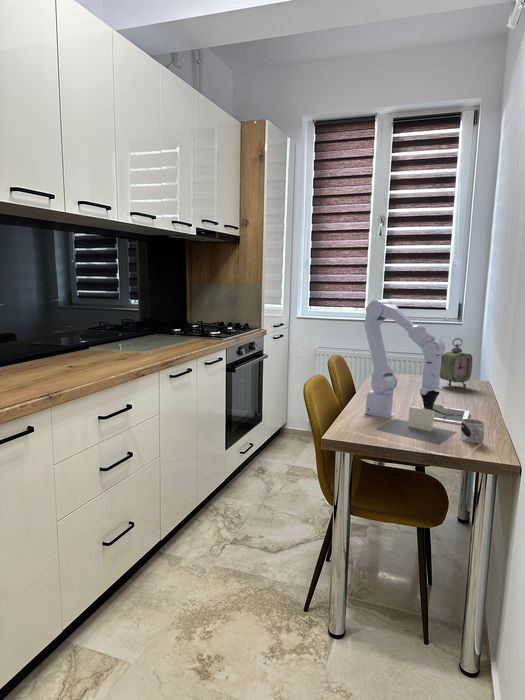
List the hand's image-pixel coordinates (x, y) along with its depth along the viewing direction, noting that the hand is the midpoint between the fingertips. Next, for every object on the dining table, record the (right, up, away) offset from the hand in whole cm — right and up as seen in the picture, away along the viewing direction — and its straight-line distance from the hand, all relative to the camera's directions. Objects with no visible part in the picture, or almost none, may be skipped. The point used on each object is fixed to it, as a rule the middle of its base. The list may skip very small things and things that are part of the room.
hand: (428, 411), depth 171 cm
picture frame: (+12, -5, +14) cm, 19 cm away
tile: (-4, -5, -4) cm, 8 cm away
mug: (+9, -9, -16) cm, 20 cm away
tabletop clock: (+37, +3, +71) cm, 80 cm away
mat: (-7, -6, -7) cm, 12 cm away
